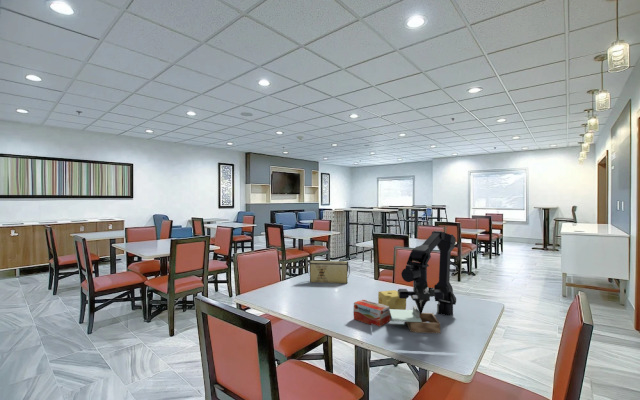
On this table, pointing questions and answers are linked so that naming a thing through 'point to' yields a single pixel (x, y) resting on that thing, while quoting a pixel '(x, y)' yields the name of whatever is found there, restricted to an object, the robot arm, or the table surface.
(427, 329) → the walnut box
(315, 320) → the table surface
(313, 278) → the clutch purse
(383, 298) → the cheese
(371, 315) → the medicine box
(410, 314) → the lid
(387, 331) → the table surface
